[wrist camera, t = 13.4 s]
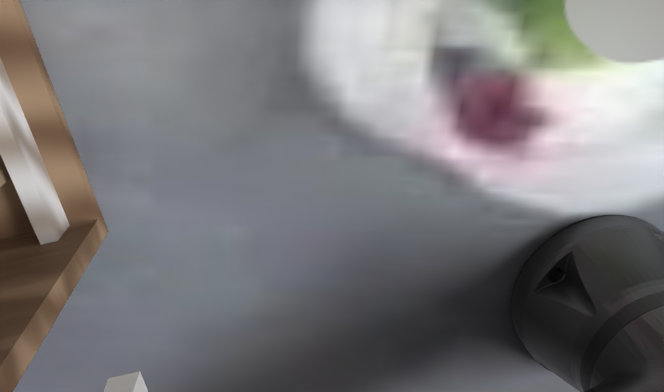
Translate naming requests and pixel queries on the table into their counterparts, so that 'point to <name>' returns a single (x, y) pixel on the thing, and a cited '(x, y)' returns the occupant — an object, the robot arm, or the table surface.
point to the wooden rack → (37, 201)
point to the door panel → (3, 173)
